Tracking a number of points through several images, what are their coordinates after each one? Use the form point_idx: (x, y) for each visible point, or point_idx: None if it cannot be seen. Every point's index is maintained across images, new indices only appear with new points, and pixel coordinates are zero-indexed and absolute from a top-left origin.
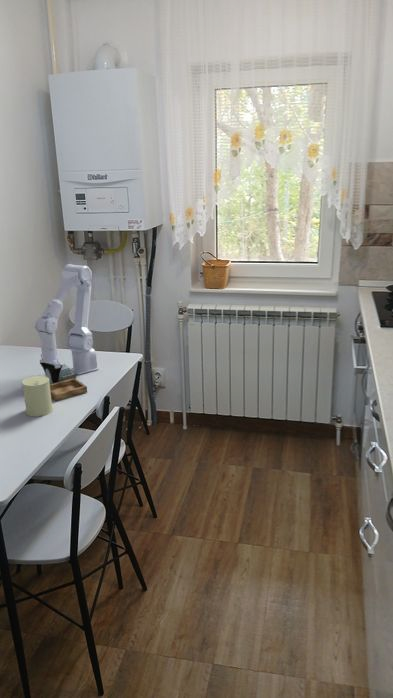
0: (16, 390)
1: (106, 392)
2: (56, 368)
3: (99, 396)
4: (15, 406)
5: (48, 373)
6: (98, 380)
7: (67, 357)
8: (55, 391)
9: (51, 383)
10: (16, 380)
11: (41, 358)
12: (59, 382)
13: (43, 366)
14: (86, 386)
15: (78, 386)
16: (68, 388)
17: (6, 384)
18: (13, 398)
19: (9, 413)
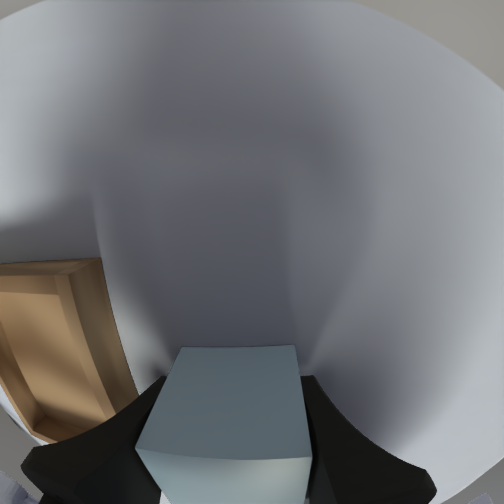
0: (295, 52)
1: (42, 443)
2: (5, 475)
3: (14, 412)
4: (32, 40)
5: (211, 432)
6: (162, 495)
7: (491, 448)
8: (63, 322)
9: (178, 364)
10: (494, 152)
11: (478, 501)
12: (105, 402)
13: (325, 479)
14: (31, 433)
15: None
16: (87, 397)
17: (459, 61)
18: (138, 14)
19: (4, 28)
